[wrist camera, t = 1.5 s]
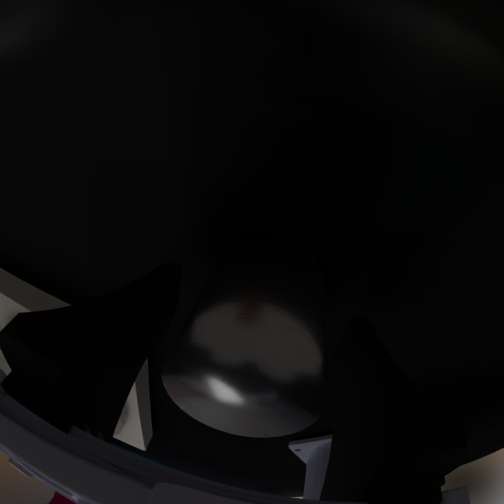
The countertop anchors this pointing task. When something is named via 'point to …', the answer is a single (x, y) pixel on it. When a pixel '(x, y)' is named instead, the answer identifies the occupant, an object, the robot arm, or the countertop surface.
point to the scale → (33, 299)
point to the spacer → (254, 343)
